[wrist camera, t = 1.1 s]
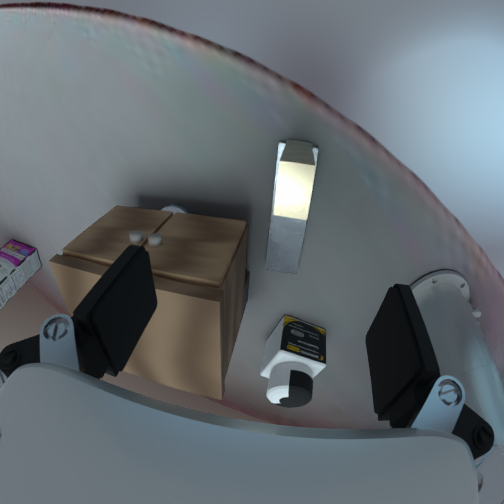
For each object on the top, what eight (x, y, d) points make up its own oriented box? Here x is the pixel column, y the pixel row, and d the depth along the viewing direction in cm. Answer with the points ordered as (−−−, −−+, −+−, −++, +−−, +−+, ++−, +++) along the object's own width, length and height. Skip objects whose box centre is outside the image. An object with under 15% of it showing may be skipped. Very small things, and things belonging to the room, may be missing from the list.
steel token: (194, 204, 33) (190, 209, 32) (195, 239, 36) (191, 245, 35) (158, 200, 34) (153, 205, 33) (162, 234, 37) (157, 240, 35)
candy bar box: (17, 256, 47) (-26, 297, 34) (11, 238, 44) (-35, 278, 31) (43, 267, 46) (-4, 316, 33) (37, 248, 44) (-14, 296, 30)
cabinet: (258, 199, 31) (219, 290, 18) (249, 301, 40) (221, 399, 26) (132, 186, 33) (45, 251, 19) (146, 281, 41) (93, 358, 28)
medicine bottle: (326, 329, 40) (326, 396, 30) (304, 353, 44) (299, 416, 34) (284, 313, 40) (275, 382, 30) (265, 340, 44) (253, 403, 34)
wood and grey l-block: (318, 141, 27) (327, 168, 17) (296, 267, 35) (291, 334, 26) (280, 136, 27) (267, 158, 17) (266, 262, 36) (250, 328, 26)
